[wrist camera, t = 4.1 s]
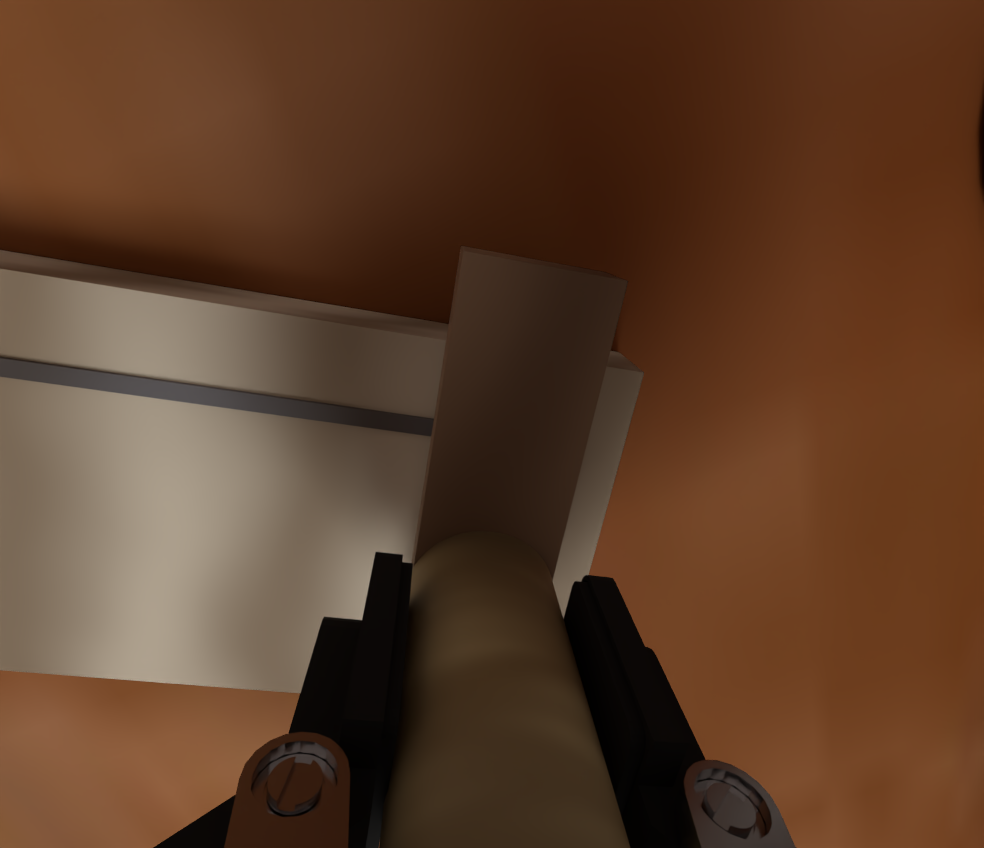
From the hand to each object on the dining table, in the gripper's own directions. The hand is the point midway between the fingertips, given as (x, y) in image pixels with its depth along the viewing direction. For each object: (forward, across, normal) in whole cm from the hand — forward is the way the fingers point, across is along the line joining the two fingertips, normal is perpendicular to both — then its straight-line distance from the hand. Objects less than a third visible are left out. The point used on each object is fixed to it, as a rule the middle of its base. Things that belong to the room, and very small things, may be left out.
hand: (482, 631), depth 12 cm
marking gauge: (+5, 0, 0) cm, 5 cm away
